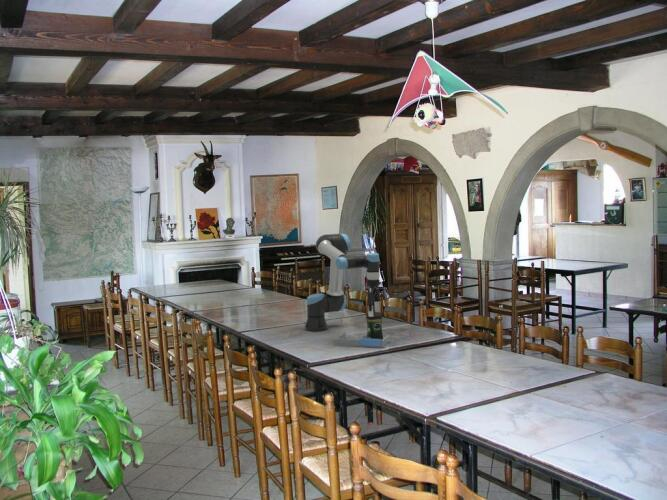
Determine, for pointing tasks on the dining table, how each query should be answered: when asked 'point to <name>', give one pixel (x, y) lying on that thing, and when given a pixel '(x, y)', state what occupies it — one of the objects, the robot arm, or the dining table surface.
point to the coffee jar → (374, 326)
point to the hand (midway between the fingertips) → (374, 314)
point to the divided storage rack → (361, 341)
